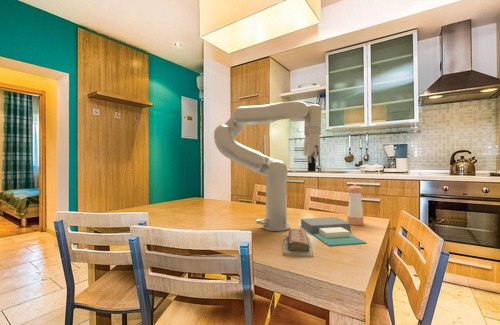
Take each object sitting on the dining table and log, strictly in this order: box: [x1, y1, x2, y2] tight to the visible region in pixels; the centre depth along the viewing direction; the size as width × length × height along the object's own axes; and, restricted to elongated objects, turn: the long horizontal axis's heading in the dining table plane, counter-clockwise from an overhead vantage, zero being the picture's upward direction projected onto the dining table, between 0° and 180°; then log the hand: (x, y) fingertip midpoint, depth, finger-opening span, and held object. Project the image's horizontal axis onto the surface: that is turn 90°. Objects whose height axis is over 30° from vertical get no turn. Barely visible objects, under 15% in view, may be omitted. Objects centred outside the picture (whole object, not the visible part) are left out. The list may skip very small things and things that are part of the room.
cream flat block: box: [319, 227, 351, 238], centre depth 101 cm, size 10×7×2 cm
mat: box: [311, 233, 367, 247], centre depth 97 cm, size 15×15×1 cm
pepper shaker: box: [346, 183, 364, 226], centre depth 119 cm, size 7×7×19 cm
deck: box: [300, 216, 352, 235], centre depth 111 cm, size 18×12×4 cm, turn 99°
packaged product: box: [282, 228, 314, 258], centre depth 88 cm, size 18×5×10 cm
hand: (311, 171), depth 114 cm, fingers closed
